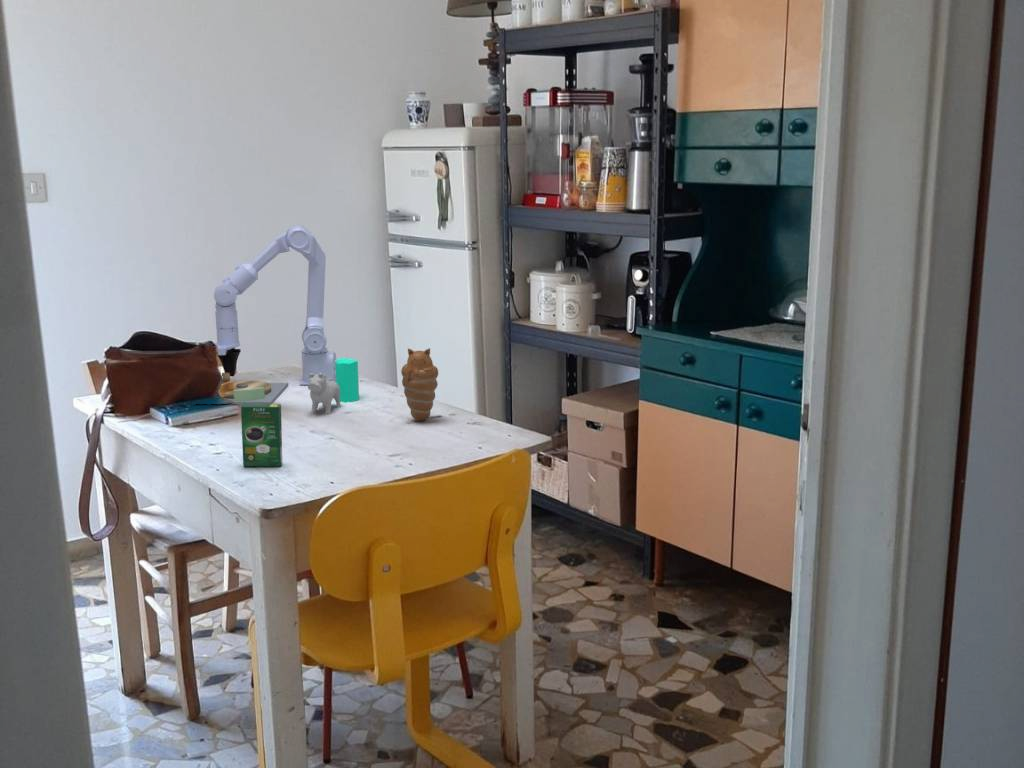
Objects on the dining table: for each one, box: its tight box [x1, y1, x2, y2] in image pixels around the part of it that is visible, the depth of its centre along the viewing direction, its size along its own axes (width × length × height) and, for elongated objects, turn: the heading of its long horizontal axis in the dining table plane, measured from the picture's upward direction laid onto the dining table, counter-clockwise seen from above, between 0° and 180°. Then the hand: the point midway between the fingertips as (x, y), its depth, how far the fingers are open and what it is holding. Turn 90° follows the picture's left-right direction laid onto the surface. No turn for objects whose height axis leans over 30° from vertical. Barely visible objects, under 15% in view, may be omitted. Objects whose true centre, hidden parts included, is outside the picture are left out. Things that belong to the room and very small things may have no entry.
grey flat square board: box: [224, 382, 289, 406], centre depth 264 cm, size 20×22×1 cm
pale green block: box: [234, 387, 265, 401], centre depth 256 cm, size 8×2×3 cm, turn 116°
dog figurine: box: [307, 373, 341, 415], centre depth 247 cm, size 5×13×11 cm, turn 169°
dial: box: [219, 372, 271, 398], centre depth 263 cm, size 15×16×4 cm
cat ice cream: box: [400, 348, 439, 422], centre depth 237 cm, size 9×8×18 cm
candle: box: [335, 354, 360, 403], centre depth 259 cm, size 6×6×12 cm
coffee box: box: [240, 403, 283, 468], centre depth 203 cm, size 8×3×13 cm, turn 93°
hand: (230, 375), depth 273 cm, fingers closed
